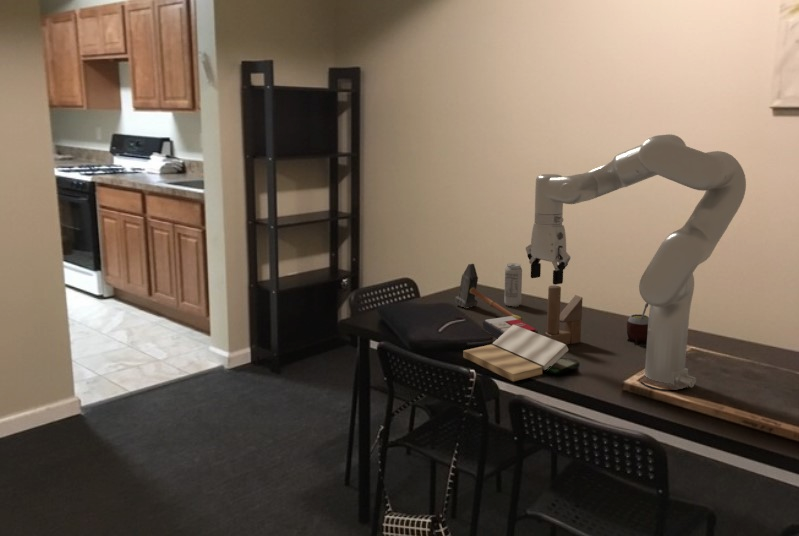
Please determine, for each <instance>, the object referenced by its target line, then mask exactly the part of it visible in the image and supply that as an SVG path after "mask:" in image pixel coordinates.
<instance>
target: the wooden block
mask: <svg viewBox="0 0 799 536" xmlns="http://www.w3.org/2000/svg"><path fill="white" fill-rule="evenodd" d="M547 289H548V293H547V294H548V295H547V296H548V297H547V317H546V319H547V320H546V321H547V322H546V332H544V333H543V334H544V335H543V336H545V337H548V338H550V339H553V340H556V341H558V342H561V343H563V344H566V345H573V344H578V343H581V336H582V334H581V332H582V318H583V317H582V315H583V296H579V295H576V294H575V295H574V296H573V297H572V298H571V300H569V302H568V303H567V304H566V306H565V307H564V308H563V309H562V311H561V295H562V292H561V291H562V287H561V286H560V285H554V284H552V285H549V286H548V288H547ZM560 323H562V324H563V323H564V330H560Z"/></svg>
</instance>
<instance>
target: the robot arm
mask: <svg viewBox="0 0 799 536" xmlns="http://www.w3.org/2000/svg"><path fill="white" fill-rule="evenodd" d="M655 176H660V177H662V178H665V179H667V180H669V181H672V182H675V183H677V184H680V185H682V186H684V187H688V188H689V189H692V190H697V191H703V192H704V191H705V192H704V195H703V196H702V197H701V199H700V200H699V202H698V203H697V204H696V206H695V207H694V210H693V211H692V212H691V215H690V216H689V218H688V219H687V221H686V222H685V224H683V226H682V227H681V228H679V229H677V230H674V231H673V232H672V233H669V235H667V236H666V237H665V238H664V240H663V241H662V242H661V244H660V245H659V247H658V248H657V250H656V251H655V254H654V255H653V257H652V258H651V261H650V262H649V264H648V265H647V267H646V268H645V270H644V271H643V274H642V275H641V278H640V279H639V284H638V289H639V290H638V291H639V293H640V294H639V295H640V296H641V298H642V300H643V301H644V302H645V304H646V303H648V306H649V310H648V311H649V312H648V317H649V321H648V334H647V344H646V349H645V351H646V352H645V361H644V362H645V364H644V365H645V366H644V370H642V371H640V372H639V373H638V375H639V374H640V373H642V372H643V371H645V376H646V377H648V378H649V379H652V380H655V381H659V382H664V383H671V384H673V385H674V384H684V385H686V386H689V387H688V388H693V387H694V386H695V384H696V382H697V377H696V376H692V375H690V374H689V368H687V367H686V360H687V357H686V356H687V347H688V345H687V344H688V335H689V324H690V314H691V313H690V311H691V307H692V300H693V297H694V296H693V295H694V291H695V276H694V272H695V270H696V269H697V267H699V266H700V265H701V264H703V263H704V262H706V261H707V260H708V259H709V258H710V256H711V255H712V254H713V252H714V250H715V248H716V247H717V245H718V244H719V242H720V240H721V238H722V237H723V236H724V234H725V232H726V231H727V229H728V228H729V225H730V224H731V222H733V221H732V220H733V218H734V217H735V215H736V214H737V213H738V210H739V209H740V207H741V205H742V203H743V201H744V198H745V194H746V189H747V179H746V174H745V171H744V169H743V167H742V165H741V164H740V162H739V161H738V160H737V159H736V158H735V157H734V156H733V155H731V154H730V153H728V152H725V151H721V150H715V151H708V152H703V151H701V150H698V149H695V148H692V147H690V146H687V145H686V142H685V141H684V140H683V139H682V138H681V137H679V136H678V135H675V134H672V133H671V134H670V133H669V134H660V135H654V136H651V137H649V138H648V139H646V140H645V141H644V142H643V143H642V144H640V145H637V146H635V147H632V148H630V149H627V150H625V151H623V152H619V153H618V154H616V155H615V156H614V157H613V159H612V160H611V161H609V162H607V163H606V164H604V165H601V166H599V167H596V168H594V169H592V170H589V171H586V172H583V173H578V174H572V175H565V176H562V175H560V174H555V173H554V174H553V173H546V174H545V173H544V174H539V175H538V176H536V178H535V189H534V191H535V193H534V194H535V195H534V196H535V197H534V198H535V199H534V223H533V227H532V231H531V240H530V244H529V245H528V246H525V251H526V254H527V255H526V256H527V258H528V259H529V262H528V263H529V265H530V278H531V279H536V278H540V277H541V274H542V273H541V268H542V263H540V261H541V260H542V261H546V262H549V263H552V266H553V268H554V270H552V285H555V286H557V285H561V284H563V283H564V271H565V270H566V267H568V265H569V262H570V261H571V255H570V254H568V252H567V238H566V237H567V235H566V229H565V225H563V222H564V218H563V210H564V209H563V208H564V204H565V205H576V204H579V203H583V202H589V201H591V200H594V199H597V198H599V197H601V196H602V197H603V196H604V195H608V194H610V193H612V192H614V191H617V190H621V189H622V188H628V187H630V186H632V185H634V184H637V183H641V182H643V181H645V180H647V179H650V178H653V177H655Z"/></svg>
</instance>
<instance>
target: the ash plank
mask: <svg viewBox="0 0 799 536" xmlns="http://www.w3.org/2000/svg"><path fill="white" fill-rule="evenodd" d="M491 345H493V346H496V347H498V348H500V349H503V350H505V351H507V352H509V353H512V354H514V355H516V356H519V357H521V358H523V359H525V360H528V361H530V362H532V363H535V364H537V365H539V366H541V367H542V371H545V370H546V369H547V367H549V366H551V367H553V365H554V364H556V363H557V362H558V361H559V360H560V359H561V358H562V357H563V356H564V355H565V354H566V353H567V352H568V351H569V348H568V346H567V345H568V344H563V343H561V342H558V341H556V340H553V339H550V338H548V337H545V336H544V335H542V334H540V333H538V334H537V333H535V332H532V331H529V330H527V329H524V328H522V327H519V326H516V325H514V324H513V325H512V326H511V327H510V328H509V329H508V330H507V331H505V332H504V333H503V334H502V335H501V336H500V337H499V338H498V339H497V338H496V339H495V341H493V342H492V344H491Z"/></svg>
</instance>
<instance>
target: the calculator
mask: <svg viewBox="0 0 799 536" xmlns="http://www.w3.org/2000/svg"><path fill="white" fill-rule="evenodd" d="M513 324H514V325H516V326H519V327H522V328H524V329H527V330H529V331H532V332H535V333H537V334H539V332H538V330H536V328H534V327H532V326H531V325H529V324H527V323H525V322H524V321H520V320H517V319H516V318H514V317H512V316H503V317H497V318H495V317H494V318H489V319H485V320H484V319H483V322H482V329H483V328H484V329H485V330H486V331H488V332H489V333H491V334H492V335H493V338H496V339H497V338H499V337H500V336H501V335H502V334H503V333H504V332H505V331H507V330H508V329H509V328H510V327H511V326H512V325H513ZM491 334H490V335H491ZM492 335H491V336H492Z"/></svg>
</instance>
